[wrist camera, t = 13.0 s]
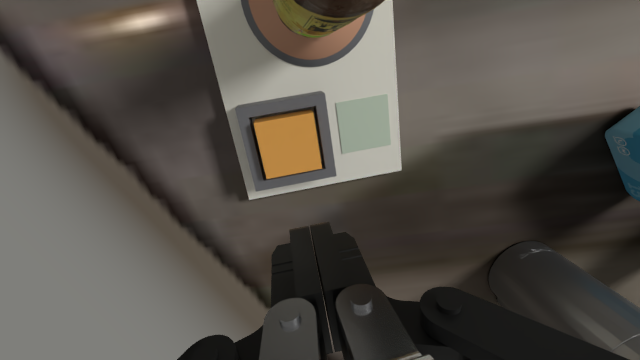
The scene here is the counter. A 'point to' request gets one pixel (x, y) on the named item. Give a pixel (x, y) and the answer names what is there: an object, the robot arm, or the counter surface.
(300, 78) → the white control panel
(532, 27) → the counter surface
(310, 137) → the button
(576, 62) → the counter surface
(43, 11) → the counter surface
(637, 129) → the data package
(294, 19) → the sauce bottle
